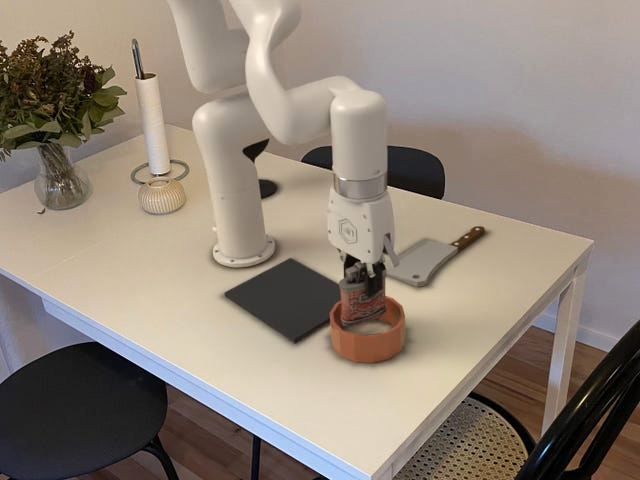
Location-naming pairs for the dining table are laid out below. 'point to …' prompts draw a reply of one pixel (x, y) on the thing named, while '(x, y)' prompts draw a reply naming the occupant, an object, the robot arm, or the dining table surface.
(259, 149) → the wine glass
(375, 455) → the dining table surface
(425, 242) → the kitchen cleaver
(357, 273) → the lighter
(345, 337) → the orange hollow ring
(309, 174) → the dining table surface
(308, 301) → the mat
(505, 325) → the dining table surface
